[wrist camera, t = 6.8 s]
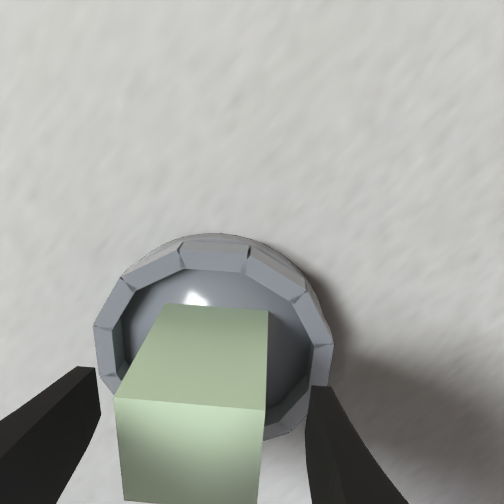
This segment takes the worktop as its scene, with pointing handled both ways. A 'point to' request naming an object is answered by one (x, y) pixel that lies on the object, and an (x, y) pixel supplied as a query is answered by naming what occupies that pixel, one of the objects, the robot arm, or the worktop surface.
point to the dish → (230, 296)
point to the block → (195, 408)
